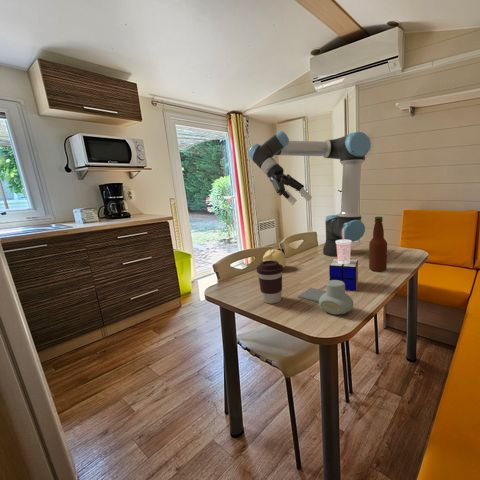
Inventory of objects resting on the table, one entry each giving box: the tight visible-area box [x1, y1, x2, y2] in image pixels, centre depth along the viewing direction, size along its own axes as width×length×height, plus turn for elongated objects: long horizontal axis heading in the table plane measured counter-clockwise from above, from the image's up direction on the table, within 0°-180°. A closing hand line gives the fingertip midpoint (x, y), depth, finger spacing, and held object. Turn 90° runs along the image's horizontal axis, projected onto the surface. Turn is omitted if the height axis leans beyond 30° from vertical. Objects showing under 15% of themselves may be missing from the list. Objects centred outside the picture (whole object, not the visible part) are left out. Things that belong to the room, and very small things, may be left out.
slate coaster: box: [297, 287, 326, 304], centre depth 102 cm, size 10×10×1 cm
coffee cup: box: [256, 260, 284, 305], centre depth 100 cm, size 10×10×15 cm
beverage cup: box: [335, 229, 353, 264], centre depth 106 cm, size 6×6×14 cm
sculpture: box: [262, 248, 287, 269], centre depth 137 cm, size 12×12×11 cm
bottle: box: [368, 216, 388, 273], centre depth 121 cm, size 7×7×25 cm
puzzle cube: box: [328, 258, 359, 292], centre depth 108 cm, size 10×10×10 cm
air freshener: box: [318, 279, 354, 315], centre depth 88 cm, size 11×8×10 cm
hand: (302, 201), depth 116 cm, fingers open, 13 cm apart
